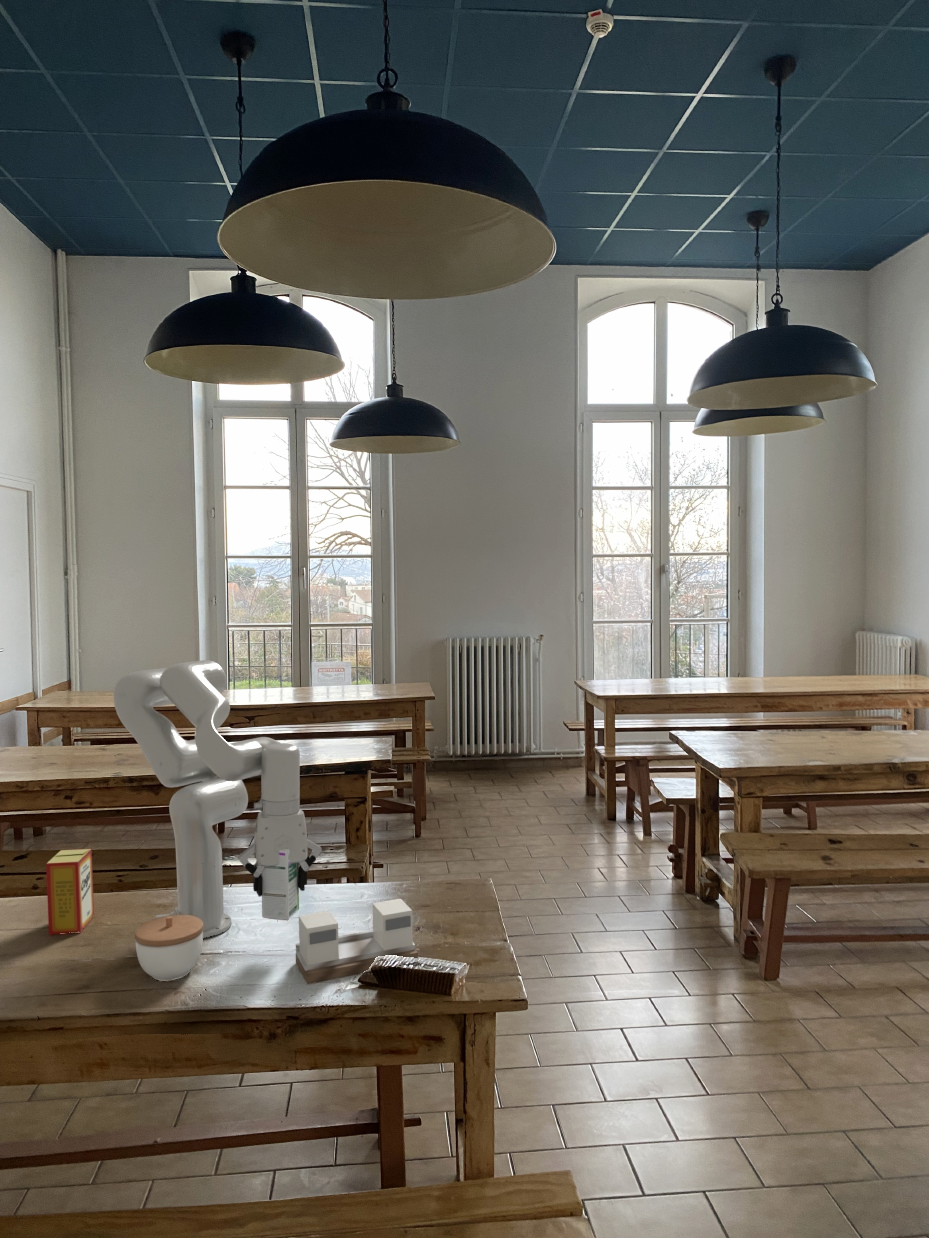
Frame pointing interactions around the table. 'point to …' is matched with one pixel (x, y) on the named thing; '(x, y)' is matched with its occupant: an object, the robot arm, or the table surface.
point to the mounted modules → (323, 931)
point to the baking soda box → (70, 890)
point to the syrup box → (280, 888)
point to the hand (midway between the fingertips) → (280, 890)
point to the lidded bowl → (169, 945)
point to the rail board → (349, 958)
